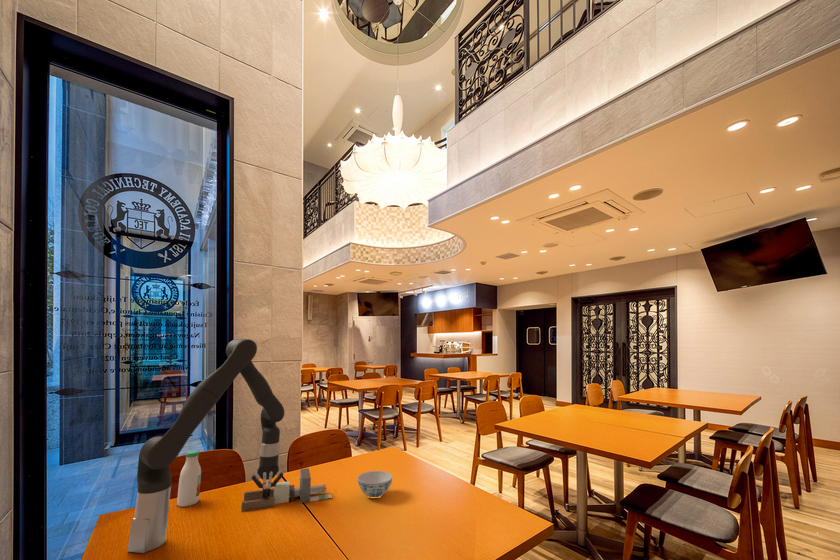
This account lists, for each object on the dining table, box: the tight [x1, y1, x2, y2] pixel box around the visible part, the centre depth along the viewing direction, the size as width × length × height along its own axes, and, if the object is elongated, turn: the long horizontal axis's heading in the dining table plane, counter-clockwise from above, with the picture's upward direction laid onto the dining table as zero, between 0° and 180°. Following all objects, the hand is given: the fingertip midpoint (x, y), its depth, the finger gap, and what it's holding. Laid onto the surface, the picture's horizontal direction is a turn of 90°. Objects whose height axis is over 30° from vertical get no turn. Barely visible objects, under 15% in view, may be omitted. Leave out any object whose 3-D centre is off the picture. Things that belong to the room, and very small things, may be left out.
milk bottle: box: [176, 449, 202, 508], centre depth 153 cm, size 8×8×20 cm
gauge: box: [240, 467, 333, 512], centre depth 156 cm, size 35×13×9 cm, turn 110°
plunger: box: [290, 483, 327, 502], centre depth 158 cm, size 14×8×4 cm, turn 110°
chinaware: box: [357, 470, 393, 497], centre depth 159 cm, size 15×15×8 cm
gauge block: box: [273, 480, 292, 505], centre depth 155 cm, size 7×6×6 cm
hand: (266, 497), depth 153 cm, fingers closed
